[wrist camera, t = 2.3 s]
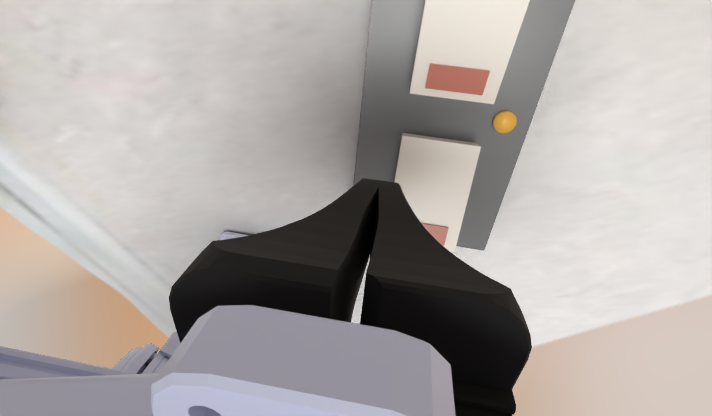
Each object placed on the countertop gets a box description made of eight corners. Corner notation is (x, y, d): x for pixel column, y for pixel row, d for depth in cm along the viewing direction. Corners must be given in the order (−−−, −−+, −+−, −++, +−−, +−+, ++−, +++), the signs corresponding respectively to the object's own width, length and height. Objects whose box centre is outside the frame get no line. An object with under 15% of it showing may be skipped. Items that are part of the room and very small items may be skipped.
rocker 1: (490, 95, 15) (494, 105, 14) (410, 84, 16) (409, 94, 15) (542, -61, 12) (551, -60, 11) (437, -71, 12) (437, -70, 11)
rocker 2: (451, 244, 18) (454, 253, 17) (385, 233, 19) (384, 242, 18) (476, 142, 16) (481, 147, 15) (402, 132, 17) (402, 136, 16)
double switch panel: (478, 223, 22) (488, 258, 19) (356, 204, 23) (347, 234, 20) (575, -66, 15) (619, -87, 11) (387, -83, 15) (380, -107, 12)
